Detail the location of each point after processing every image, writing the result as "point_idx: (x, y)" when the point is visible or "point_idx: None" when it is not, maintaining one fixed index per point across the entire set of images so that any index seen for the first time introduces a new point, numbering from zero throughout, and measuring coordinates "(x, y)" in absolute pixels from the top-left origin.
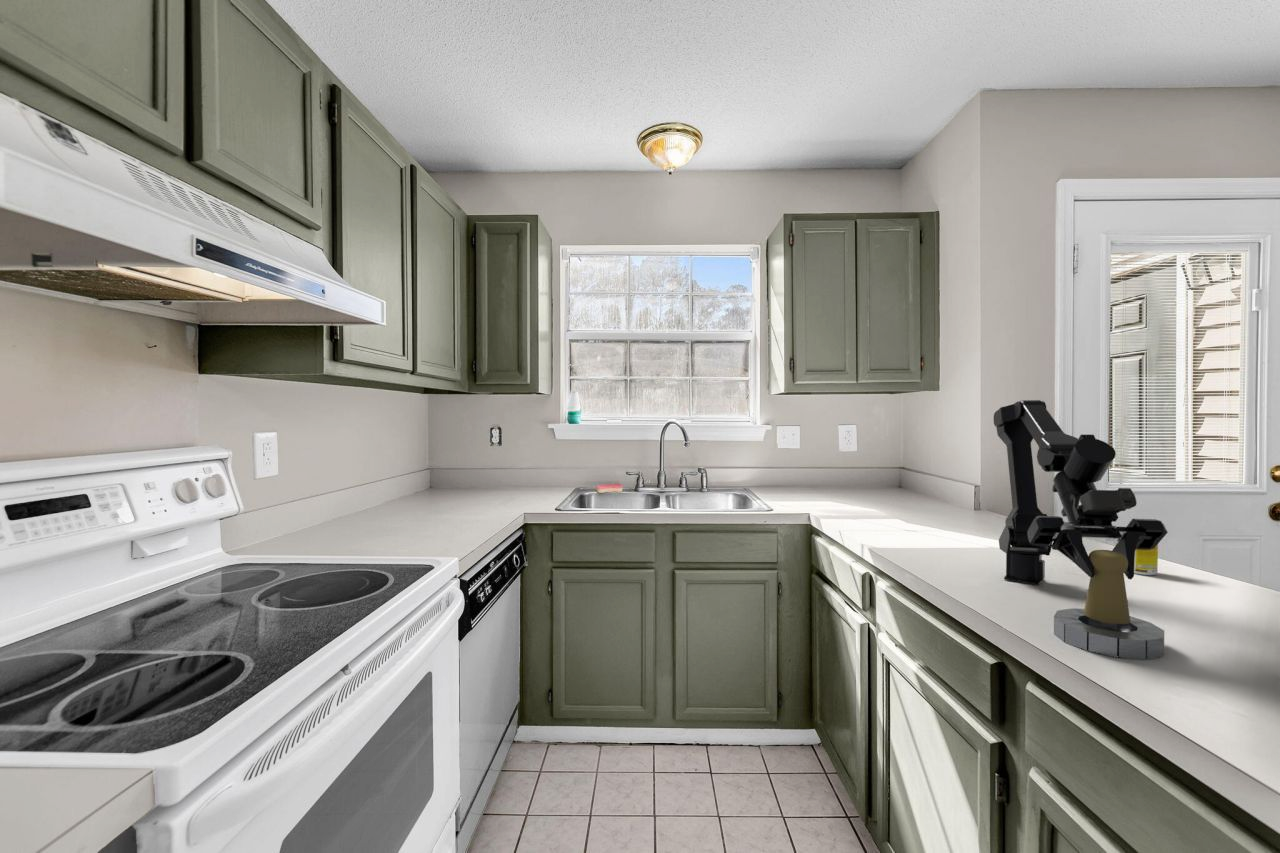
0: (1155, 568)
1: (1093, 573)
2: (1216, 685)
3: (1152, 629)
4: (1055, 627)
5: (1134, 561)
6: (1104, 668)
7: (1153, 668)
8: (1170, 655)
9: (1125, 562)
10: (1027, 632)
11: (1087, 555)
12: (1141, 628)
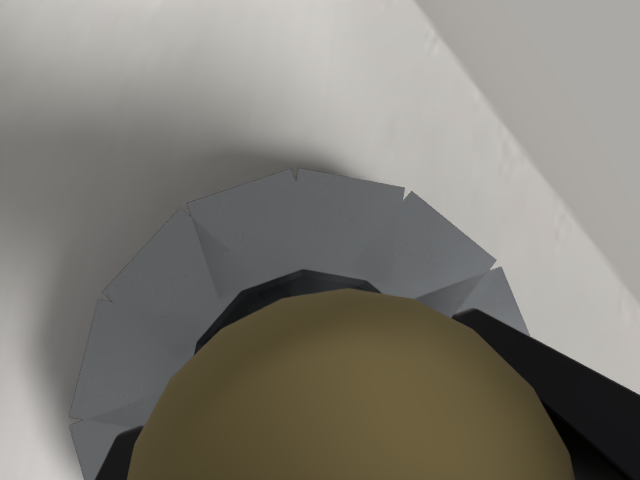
0: None
1: (465, 312)
2: (28, 82)
3: (120, 407)
4: None
5: None
6: (350, 56)
7: (192, 144)
8: None
9: (165, 391)
10: (605, 326)
11: (605, 448)
12: None
